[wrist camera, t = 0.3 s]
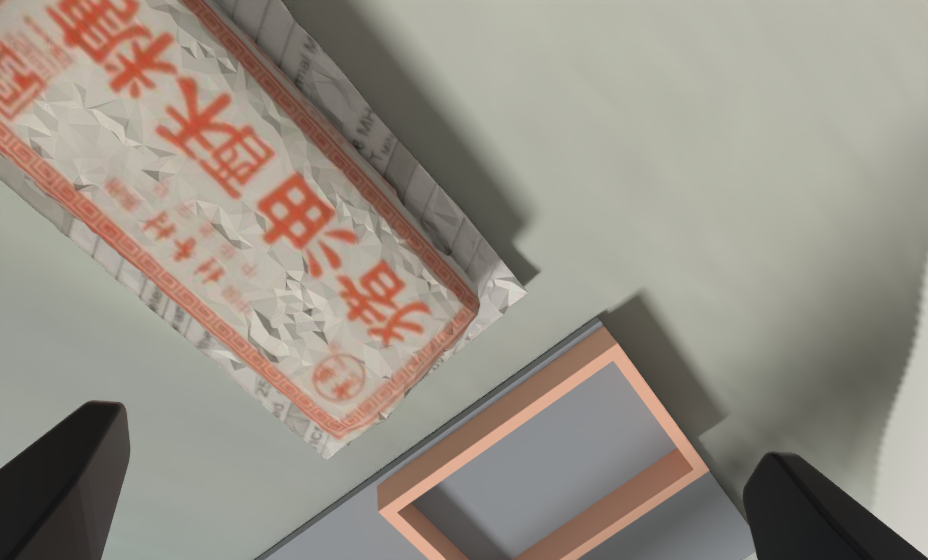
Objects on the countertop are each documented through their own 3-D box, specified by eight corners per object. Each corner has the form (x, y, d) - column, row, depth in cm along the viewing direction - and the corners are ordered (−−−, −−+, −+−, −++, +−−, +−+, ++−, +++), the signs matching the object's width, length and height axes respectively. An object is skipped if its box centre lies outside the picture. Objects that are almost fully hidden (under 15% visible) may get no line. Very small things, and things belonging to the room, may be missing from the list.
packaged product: (-213, 95, 16) (86, -210, 15) (-90, 76, 20) (147, -159, 19) (324, 523, 23) (560, 338, 22) (329, 439, 27) (524, 282, 26)
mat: (452, 739, 34) (453, 747, 34) (239, 571, 28) (237, 578, 28) (759, 539, 32) (763, 546, 32) (596, 316, 26) (600, 320, 26)
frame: (483, 589, 30) (490, 617, 29) (376, 486, 27) (378, 511, 26) (692, 448, 29) (709, 470, 28) (603, 325, 26) (617, 343, 25)
